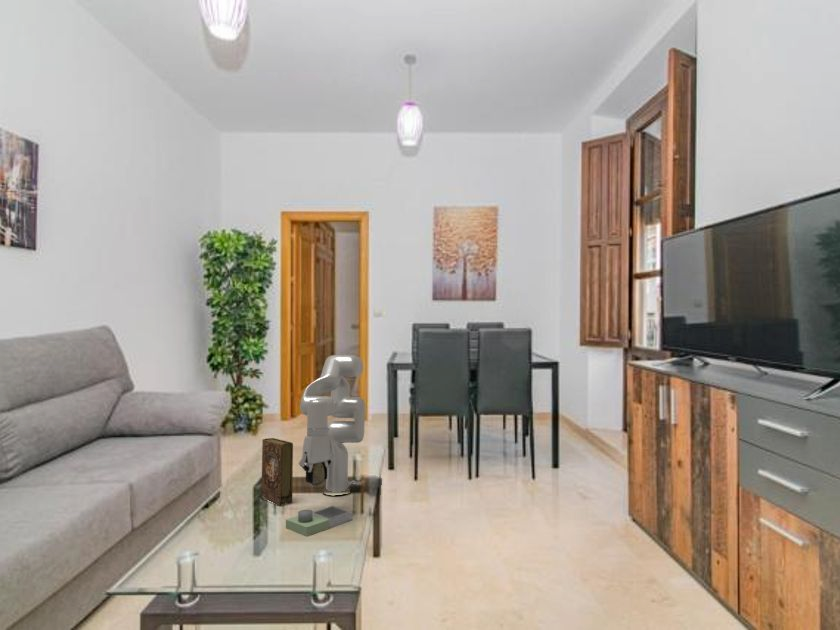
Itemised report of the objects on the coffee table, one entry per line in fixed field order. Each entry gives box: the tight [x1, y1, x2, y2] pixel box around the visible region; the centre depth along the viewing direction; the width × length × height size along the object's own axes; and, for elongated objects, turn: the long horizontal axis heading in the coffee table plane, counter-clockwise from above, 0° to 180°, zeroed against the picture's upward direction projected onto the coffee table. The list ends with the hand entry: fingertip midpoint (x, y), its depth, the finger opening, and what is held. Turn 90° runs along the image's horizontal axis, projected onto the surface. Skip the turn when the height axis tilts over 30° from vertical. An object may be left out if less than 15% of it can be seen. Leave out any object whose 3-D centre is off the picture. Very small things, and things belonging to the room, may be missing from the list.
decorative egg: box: [310, 462, 325, 487], centre depth 193 cm, size 6×6×10 cm
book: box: [260, 437, 294, 507], centre depth 217 cm, size 16×6×25 cm, turn 47°
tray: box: [312, 505, 353, 529], centre depth 193 cm, size 11×11×3 cm
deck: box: [285, 509, 330, 537], centre depth 185 cm, size 10×12×6 cm
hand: (316, 479), depth 193 cm, fingers closed on decorative egg, 6 cm apart
